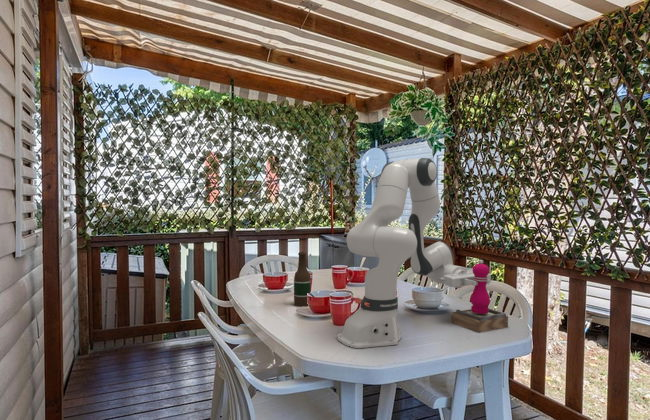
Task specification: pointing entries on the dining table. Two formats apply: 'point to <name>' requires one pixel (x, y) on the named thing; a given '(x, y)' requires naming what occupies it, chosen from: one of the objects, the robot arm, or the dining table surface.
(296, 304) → the beer bottle
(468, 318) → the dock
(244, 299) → the dining table surface
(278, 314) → the dining table surface
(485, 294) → the pepper mill
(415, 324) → the dining table surface
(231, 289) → the dining table surface
